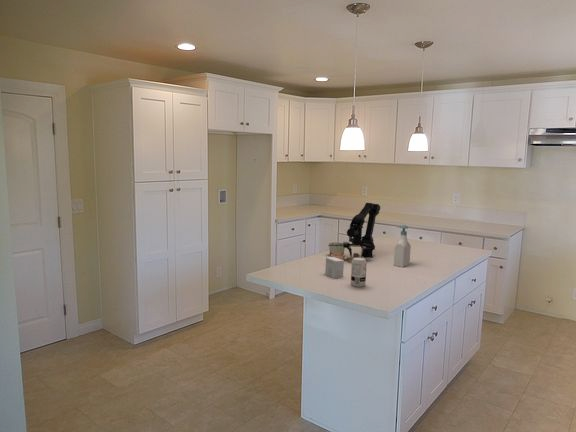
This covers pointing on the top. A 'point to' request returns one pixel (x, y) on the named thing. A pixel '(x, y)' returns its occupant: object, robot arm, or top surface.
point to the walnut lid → (355, 255)
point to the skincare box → (334, 267)
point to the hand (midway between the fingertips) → (356, 257)
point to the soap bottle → (402, 249)
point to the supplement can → (358, 272)
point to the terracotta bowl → (338, 256)
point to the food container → (336, 248)
